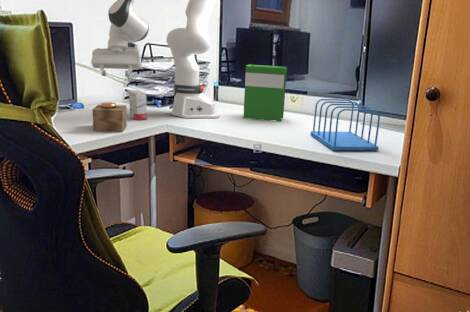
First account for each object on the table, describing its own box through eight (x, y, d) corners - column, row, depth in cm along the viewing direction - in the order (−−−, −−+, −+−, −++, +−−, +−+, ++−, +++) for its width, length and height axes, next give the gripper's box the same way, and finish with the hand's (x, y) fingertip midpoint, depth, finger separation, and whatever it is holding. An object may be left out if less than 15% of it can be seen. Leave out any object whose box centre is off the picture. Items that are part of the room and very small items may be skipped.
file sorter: (378, 152, 170) (383, 110, 166) (332, 152, 167) (337, 109, 163) (350, 135, 194) (354, 98, 190) (310, 135, 191) (313, 97, 187)
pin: (117, 126, 189) (116, 102, 186) (114, 129, 184) (114, 105, 181) (103, 125, 188) (102, 102, 186) (100, 128, 183) (99, 104, 181)
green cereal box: (283, 118, 223) (286, 67, 217) (280, 121, 216) (284, 68, 210) (246, 115, 227) (249, 64, 220) (243, 117, 220) (246, 65, 213)
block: (126, 125, 192) (126, 105, 190) (122, 132, 181) (122, 110, 179) (99, 125, 191) (98, 104, 189) (93, 131, 181) (92, 109, 178)
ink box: (147, 119, 206) (147, 92, 203) (136, 120, 203) (136, 93, 200) (139, 116, 213) (139, 89, 210) (128, 116, 210) (128, 90, 207)
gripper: (91, 43, 195) (87, 69, 189) (141, 44, 197) (139, 71, 191) (94, 53, 201) (90, 79, 194) (143, 54, 203) (141, 80, 196)
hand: (115, 75), depth 192 cm, fingers open, 8 cm apart
